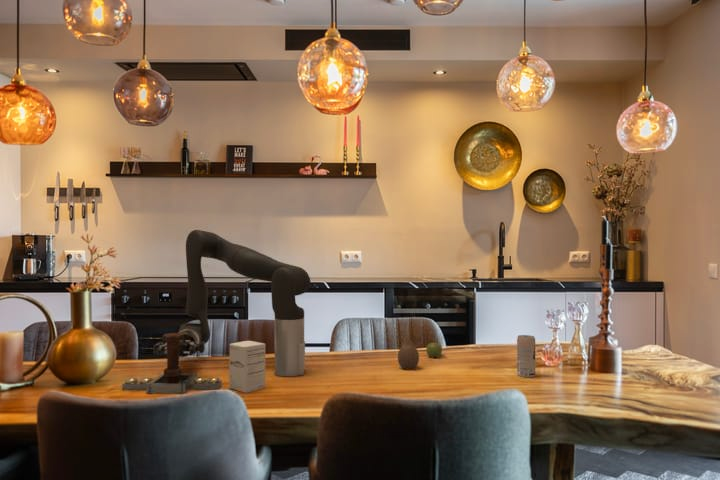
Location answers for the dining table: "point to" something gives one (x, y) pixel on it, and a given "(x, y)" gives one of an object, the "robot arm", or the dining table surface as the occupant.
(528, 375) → the energy drink
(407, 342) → the vase
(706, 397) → the dining table surface
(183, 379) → the chain end
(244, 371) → the supplement box
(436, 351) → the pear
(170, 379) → the bolt
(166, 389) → the chain end
